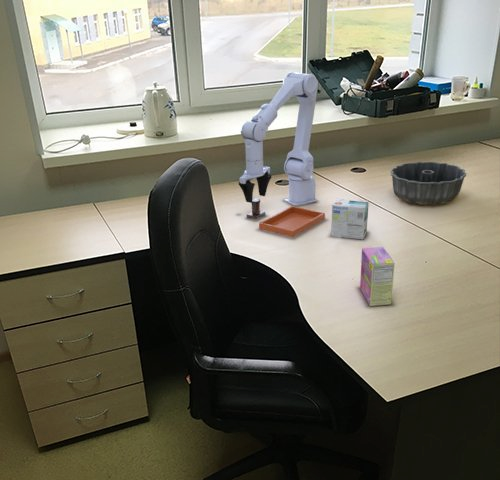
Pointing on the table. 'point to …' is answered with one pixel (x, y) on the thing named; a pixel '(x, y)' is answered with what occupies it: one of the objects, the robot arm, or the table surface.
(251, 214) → the stamp
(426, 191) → the bundt pan
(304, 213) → the tray
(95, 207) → the table surface
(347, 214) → the light bulb box
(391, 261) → the box
